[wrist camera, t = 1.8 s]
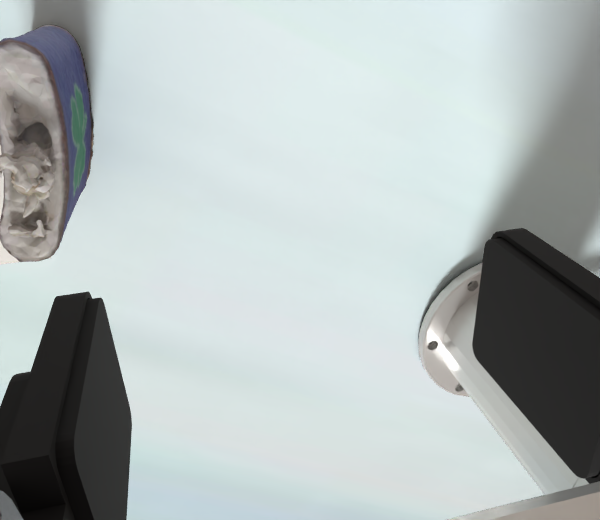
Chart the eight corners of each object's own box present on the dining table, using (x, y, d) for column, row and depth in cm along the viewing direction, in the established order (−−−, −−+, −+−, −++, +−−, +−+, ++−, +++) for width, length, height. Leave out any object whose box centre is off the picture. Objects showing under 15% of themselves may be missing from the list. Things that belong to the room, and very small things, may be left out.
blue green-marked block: (27, 21, 27) (-39, 40, 18) (90, 29, 28) (59, 52, 18) (40, 196, 31) (-9, 288, 22) (95, 198, 32) (70, 288, 22)
